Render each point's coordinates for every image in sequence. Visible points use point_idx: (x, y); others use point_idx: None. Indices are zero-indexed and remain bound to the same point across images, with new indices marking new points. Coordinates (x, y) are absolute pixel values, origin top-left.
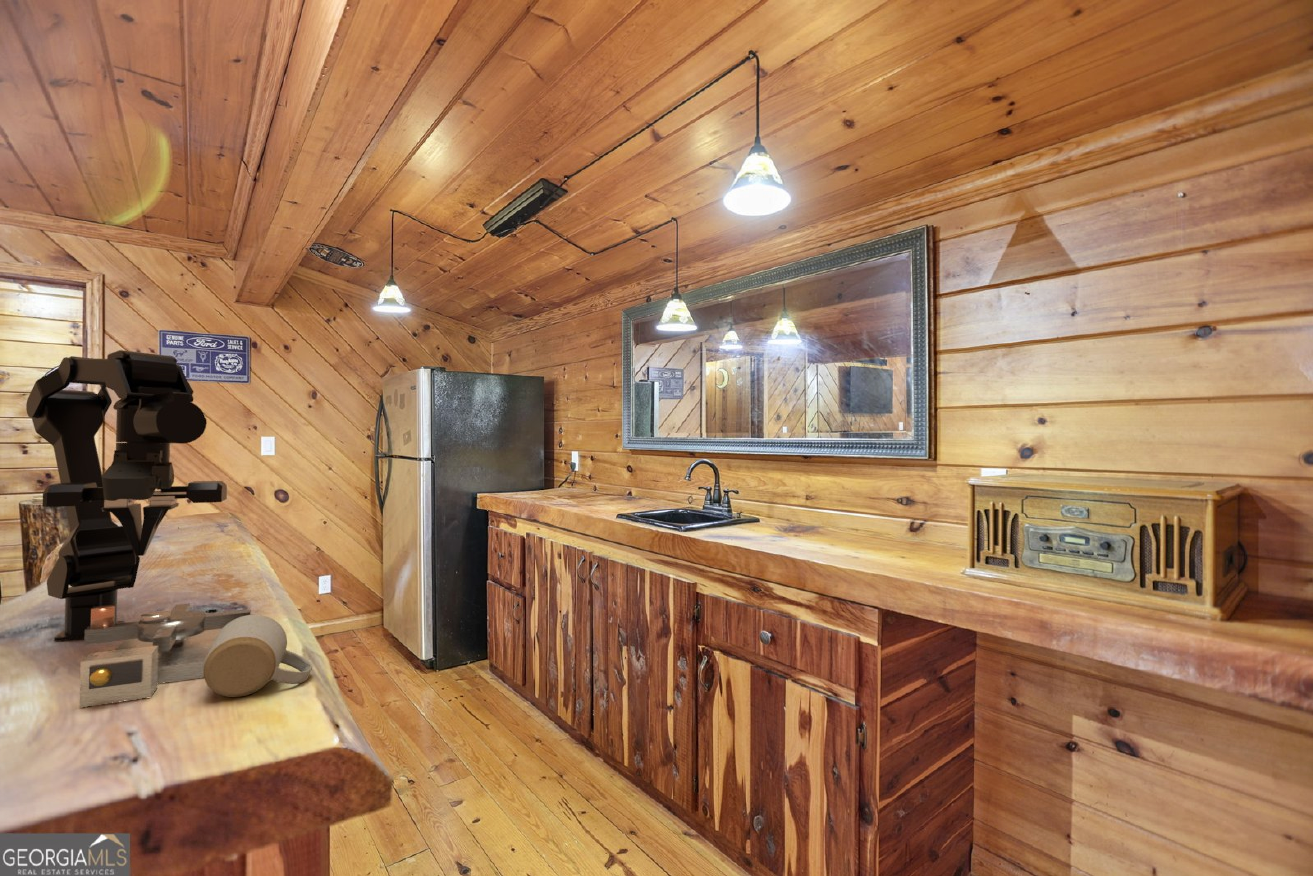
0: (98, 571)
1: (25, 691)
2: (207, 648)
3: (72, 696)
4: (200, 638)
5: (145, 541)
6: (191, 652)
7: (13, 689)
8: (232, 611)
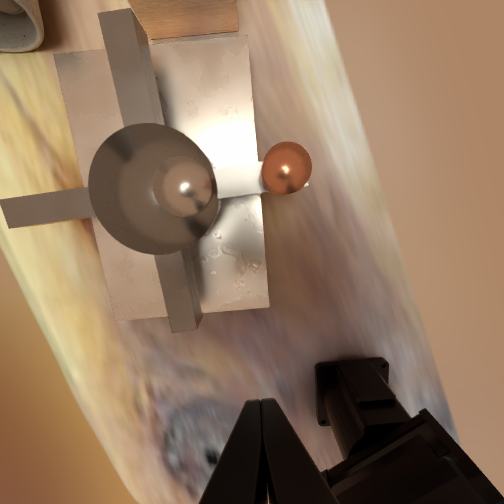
0: (398, 471)
1: (340, 111)
2: (100, 144)
3: (265, 53)
4: None
5: (230, 466)
6: (120, 125)
7: (360, 129)
8: (44, 221)
